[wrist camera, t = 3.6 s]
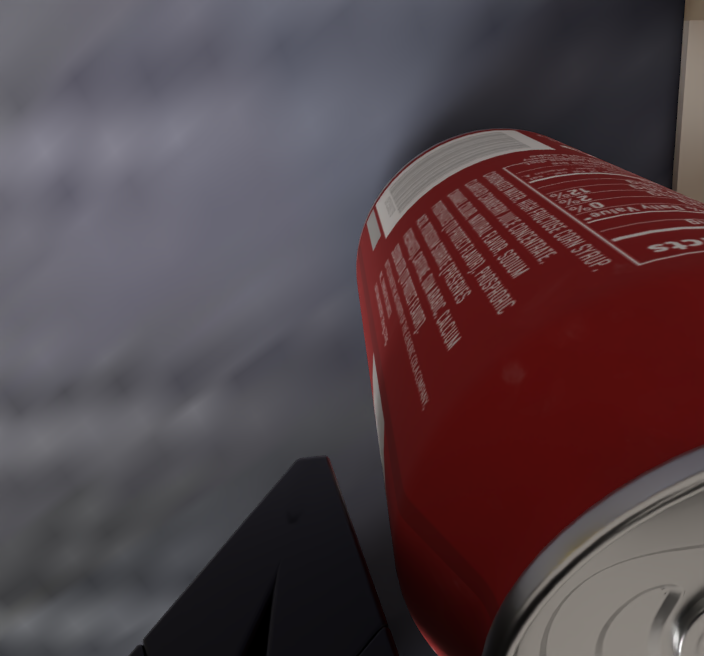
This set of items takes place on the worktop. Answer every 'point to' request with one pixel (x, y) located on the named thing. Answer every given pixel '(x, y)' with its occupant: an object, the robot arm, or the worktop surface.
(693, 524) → the soda can
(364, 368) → the worktop surface
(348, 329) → the worktop surface
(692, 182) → the rest
